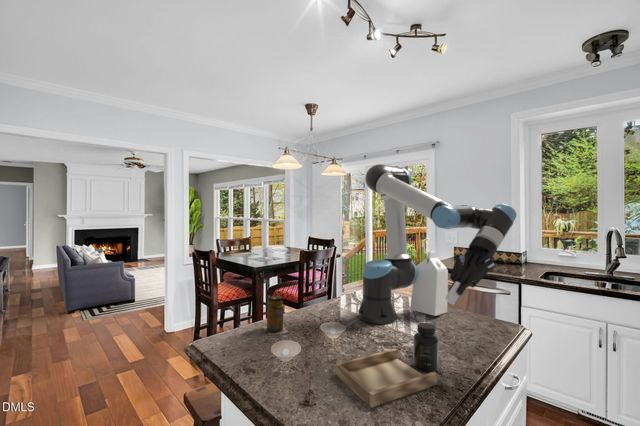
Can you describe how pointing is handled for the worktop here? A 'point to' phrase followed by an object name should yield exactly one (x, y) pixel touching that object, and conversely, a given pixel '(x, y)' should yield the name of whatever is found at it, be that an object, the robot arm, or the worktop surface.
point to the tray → (382, 377)
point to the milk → (430, 286)
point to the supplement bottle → (425, 348)
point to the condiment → (275, 316)
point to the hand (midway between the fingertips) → (449, 301)
